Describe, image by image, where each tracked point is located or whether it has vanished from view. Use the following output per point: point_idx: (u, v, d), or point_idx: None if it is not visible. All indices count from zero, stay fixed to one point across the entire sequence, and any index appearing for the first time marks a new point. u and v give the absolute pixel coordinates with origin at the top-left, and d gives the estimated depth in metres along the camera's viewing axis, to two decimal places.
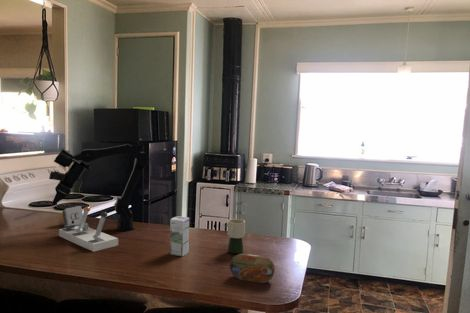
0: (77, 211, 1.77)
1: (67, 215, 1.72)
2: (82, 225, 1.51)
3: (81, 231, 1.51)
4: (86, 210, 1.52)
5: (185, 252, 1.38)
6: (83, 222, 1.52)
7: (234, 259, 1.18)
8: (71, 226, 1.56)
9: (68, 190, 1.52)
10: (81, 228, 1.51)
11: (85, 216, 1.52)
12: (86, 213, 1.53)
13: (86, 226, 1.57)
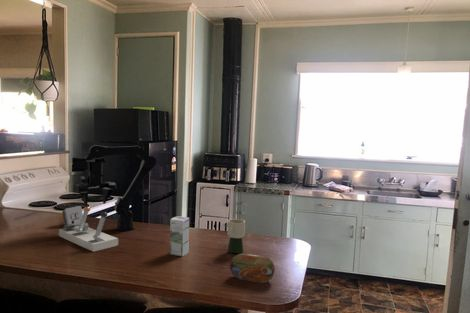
0: (77, 211, 1.77)
1: (67, 215, 1.72)
2: (82, 225, 1.51)
3: (81, 231, 1.51)
4: (86, 210, 1.52)
5: (185, 252, 1.38)
6: (83, 222, 1.52)
7: (234, 259, 1.18)
8: (71, 226, 1.56)
9: (78, 188, 1.56)
10: (81, 228, 1.51)
11: (85, 216, 1.52)
12: (86, 213, 1.53)
13: (86, 226, 1.57)
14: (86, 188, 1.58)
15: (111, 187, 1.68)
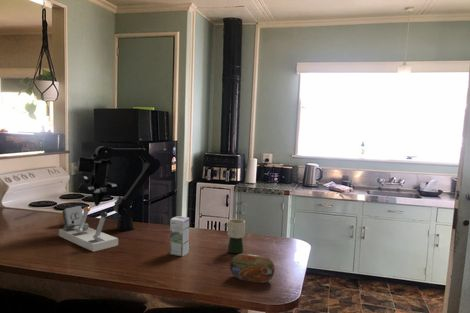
0: (77, 211, 1.77)
1: (67, 215, 1.72)
2: (82, 225, 1.51)
3: (81, 231, 1.51)
4: (86, 210, 1.52)
5: (185, 252, 1.38)
6: (83, 222, 1.52)
7: (234, 259, 1.18)
8: (71, 226, 1.56)
9: (86, 189, 1.55)
10: (81, 228, 1.51)
11: (85, 216, 1.52)
12: (86, 213, 1.53)
13: (86, 226, 1.57)
14: (93, 190, 1.57)
15: (113, 189, 1.69)
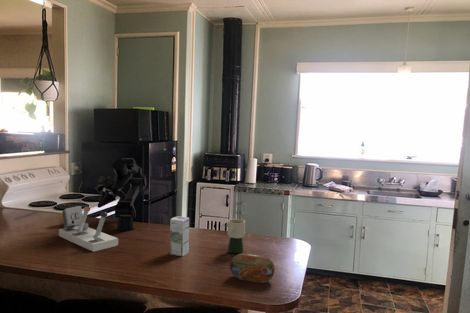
0: (77, 211, 1.77)
1: (67, 215, 1.72)
2: (82, 225, 1.51)
3: (81, 231, 1.51)
4: (86, 210, 1.52)
5: (185, 252, 1.38)
6: (83, 222, 1.52)
7: (234, 259, 1.18)
8: (71, 226, 1.56)
9: (125, 196, 1.57)
10: (81, 228, 1.51)
11: (85, 216, 1.52)
12: (86, 213, 1.53)
13: (86, 226, 1.57)
14: None
15: None
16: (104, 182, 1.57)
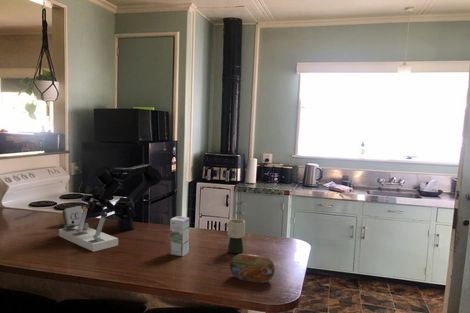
0: (77, 211, 1.77)
1: (67, 215, 1.72)
2: (82, 225, 1.51)
3: (81, 231, 1.51)
4: (85, 210, 1.52)
5: (185, 252, 1.38)
6: (82, 222, 1.51)
7: (234, 259, 1.18)
8: (71, 226, 1.56)
9: (113, 207, 1.53)
10: (81, 228, 1.51)
11: (84, 216, 1.52)
12: (85, 213, 1.52)
13: (86, 226, 1.57)
14: None
15: None
16: (91, 192, 1.52)
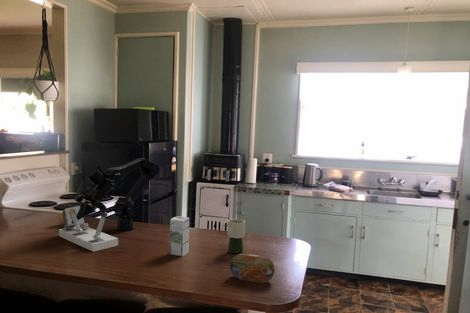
0: (77, 211, 1.77)
1: (67, 215, 1.72)
2: (78, 226, 1.50)
3: (81, 231, 1.51)
4: (71, 213, 1.47)
5: (185, 252, 1.38)
6: (77, 223, 1.50)
7: (234, 259, 1.18)
8: (71, 226, 1.56)
9: (105, 208, 1.50)
10: (79, 228, 1.50)
11: (75, 218, 1.49)
12: (74, 215, 1.48)
13: (86, 226, 1.57)
14: None
15: None
16: (83, 193, 1.49)
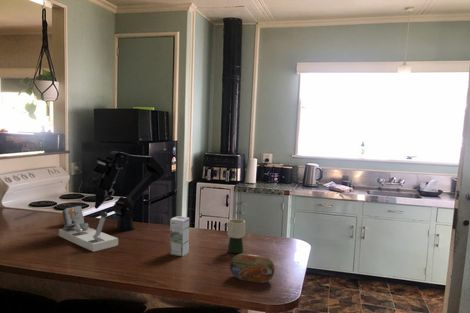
0: (77, 211, 1.77)
1: (67, 215, 1.72)
2: (78, 226, 1.50)
3: (81, 231, 1.51)
4: (71, 213, 1.47)
5: (185, 252, 1.38)
6: (77, 223, 1.50)
7: (234, 259, 1.18)
8: (71, 226, 1.56)
9: (102, 192, 1.54)
10: (79, 228, 1.50)
11: (75, 218, 1.49)
12: (74, 215, 1.48)
13: (86, 226, 1.57)
14: (106, 193, 1.57)
15: (112, 194, 1.69)
16: (88, 184, 1.60)
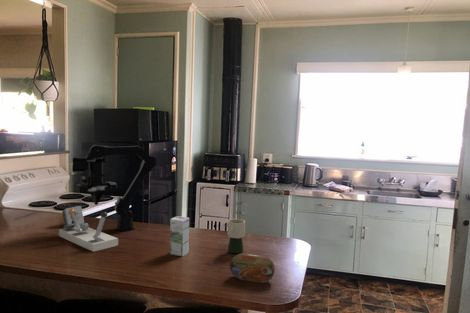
0: (77, 211, 1.77)
1: (67, 215, 1.72)
2: (78, 226, 1.50)
3: (81, 231, 1.51)
4: (71, 213, 1.47)
5: (185, 252, 1.38)
6: (77, 223, 1.50)
7: (234, 259, 1.18)
8: (71, 226, 1.56)
9: (78, 188, 1.56)
10: (79, 228, 1.50)
11: (75, 218, 1.49)
12: (74, 215, 1.48)
13: (86, 226, 1.57)
14: (87, 188, 1.58)
15: (112, 187, 1.68)
16: (84, 184, 1.67)
